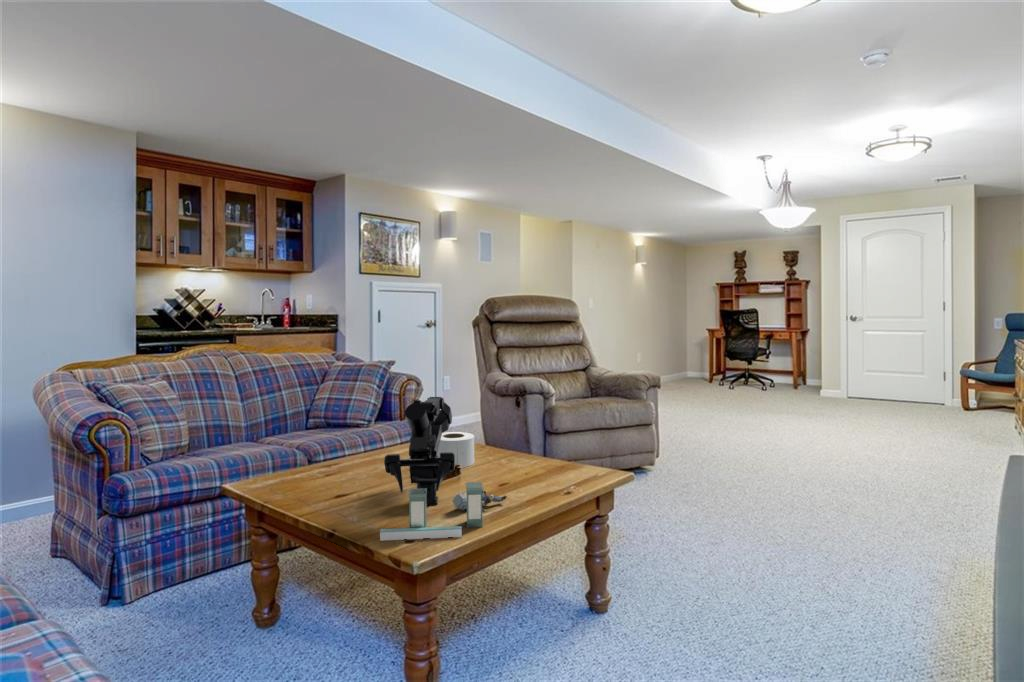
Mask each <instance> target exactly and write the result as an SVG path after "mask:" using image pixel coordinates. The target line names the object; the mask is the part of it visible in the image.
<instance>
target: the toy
mask: <svg viewBox="0 0 1024 682" xmlns="http://www.w3.org/2000/svg"><path fill="white" fill-rule="evenodd" d="M507 497H508V496H506V495H504V496H502V497H501V496H497V495H493V493H490V494H489V495H487V490H484V489H483V490H482V506H485V507H487V505H489V504H490V503H492V502H494V503H501V502H503V501H505V500H506V499H507ZM452 503H453V505H454V507H455V508H456V509H458V510H461V511H463V510H464V511H465V509H466V511H467V496H466V492H458V493H457V494H456V495H455V496H454V497H453V499H452Z"/></svg>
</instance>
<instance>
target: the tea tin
mask: <svg viewBox="0 0 1024 682" xmlns="http://www.w3.org/2000/svg"><path fill="white" fill-rule="evenodd" d="M426 493H427V488H417V487H416V488H410V489H409V493H408V500H409V501H408V509H409V510H408V511H409V515H408V516H409V520H408V521H409V528H426V527H428V522H427V521H428V519H427V516H428V515H427V509H428V508H427V506H428V505H427V496H426Z"/></svg>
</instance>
